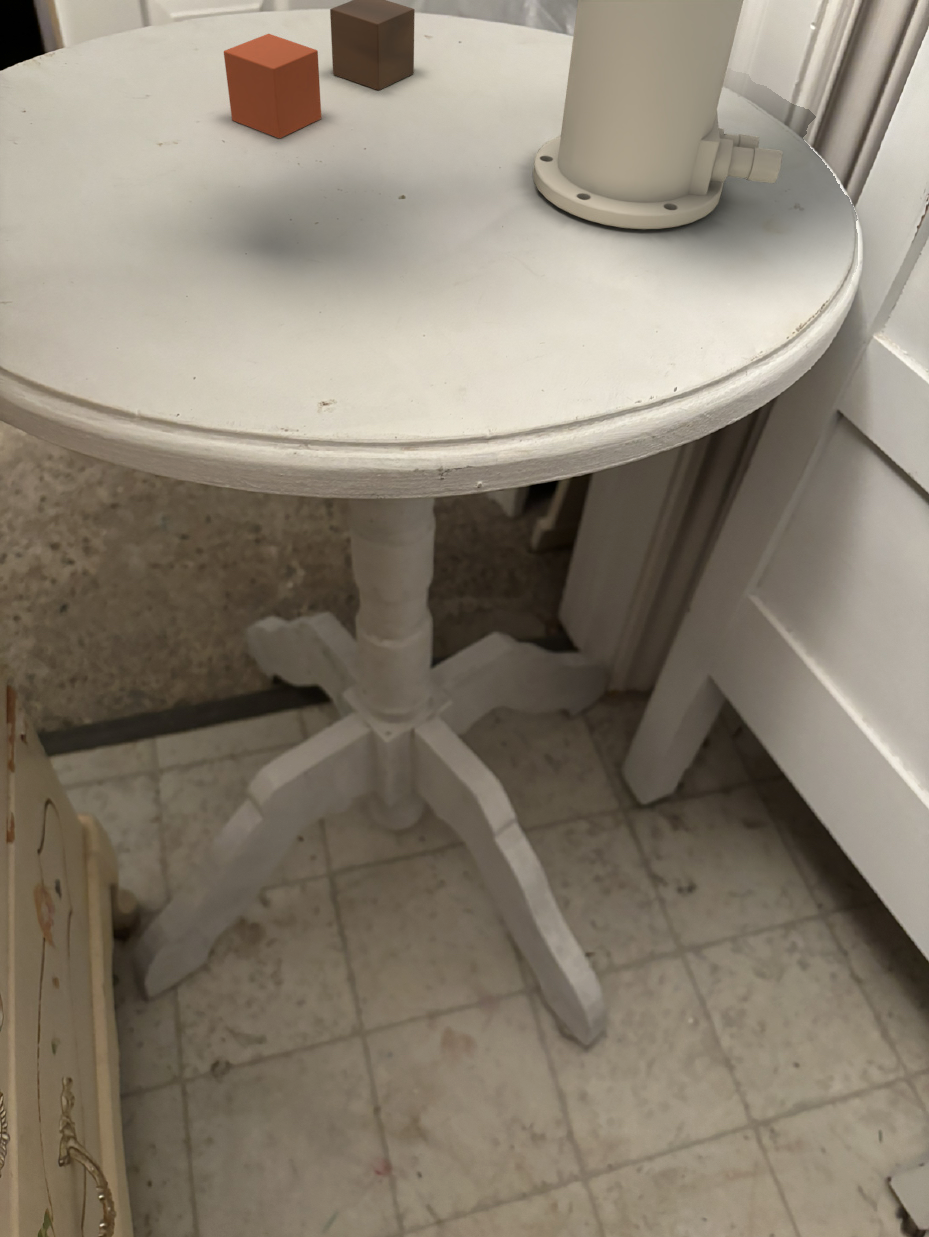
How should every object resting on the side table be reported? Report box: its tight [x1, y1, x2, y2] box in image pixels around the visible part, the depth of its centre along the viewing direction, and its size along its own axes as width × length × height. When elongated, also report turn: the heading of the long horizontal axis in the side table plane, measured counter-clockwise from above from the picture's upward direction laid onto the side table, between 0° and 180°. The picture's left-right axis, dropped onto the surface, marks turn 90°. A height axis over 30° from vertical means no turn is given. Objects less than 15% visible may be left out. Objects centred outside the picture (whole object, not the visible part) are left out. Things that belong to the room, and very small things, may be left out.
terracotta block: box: [223, 33, 322, 139], centre depth 66 cm, size 4×4×4 cm
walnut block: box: [329, 0, 416, 91], centre depth 73 cm, size 4×4×4 cm
